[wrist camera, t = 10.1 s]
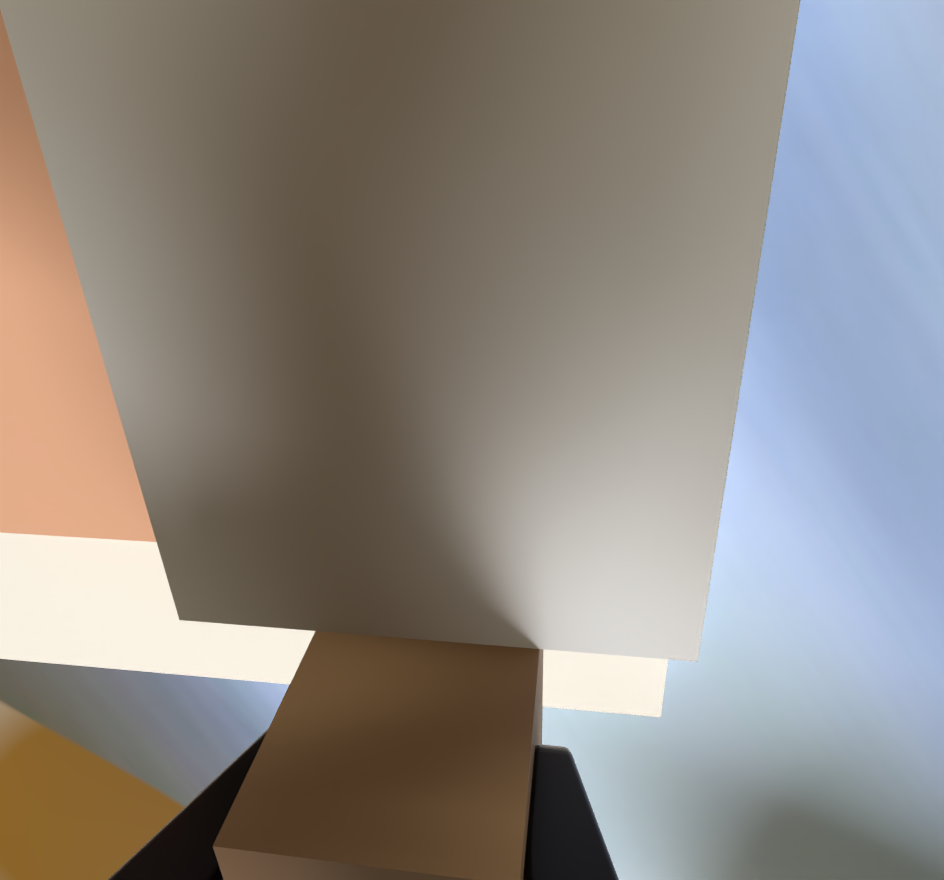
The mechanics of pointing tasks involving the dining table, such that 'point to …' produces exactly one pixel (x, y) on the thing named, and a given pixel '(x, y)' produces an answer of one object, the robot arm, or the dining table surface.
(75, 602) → the board
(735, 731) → the dining table surface
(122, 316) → the two-tone stepped block
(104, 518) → the tile
